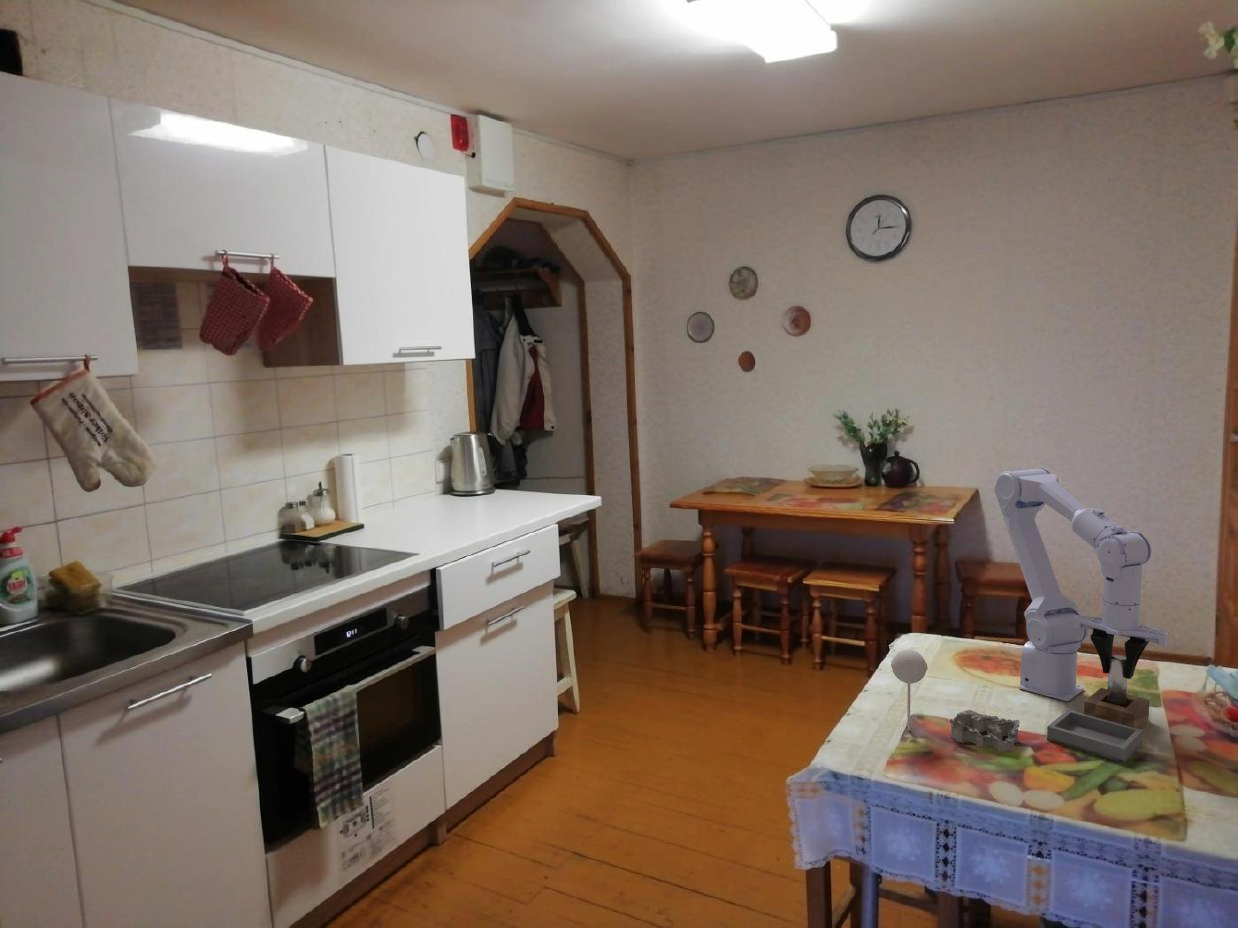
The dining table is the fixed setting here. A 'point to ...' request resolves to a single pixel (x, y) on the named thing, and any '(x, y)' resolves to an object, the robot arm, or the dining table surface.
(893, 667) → the lollipop
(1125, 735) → the tray
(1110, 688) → the pin
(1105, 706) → the holder
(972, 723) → the egg carton
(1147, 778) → the dining table surface
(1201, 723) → the dining table surface
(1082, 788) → the dining table surface
